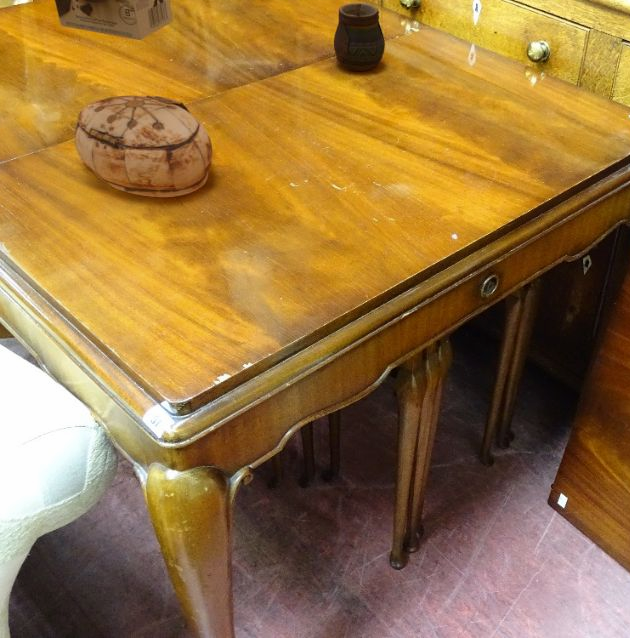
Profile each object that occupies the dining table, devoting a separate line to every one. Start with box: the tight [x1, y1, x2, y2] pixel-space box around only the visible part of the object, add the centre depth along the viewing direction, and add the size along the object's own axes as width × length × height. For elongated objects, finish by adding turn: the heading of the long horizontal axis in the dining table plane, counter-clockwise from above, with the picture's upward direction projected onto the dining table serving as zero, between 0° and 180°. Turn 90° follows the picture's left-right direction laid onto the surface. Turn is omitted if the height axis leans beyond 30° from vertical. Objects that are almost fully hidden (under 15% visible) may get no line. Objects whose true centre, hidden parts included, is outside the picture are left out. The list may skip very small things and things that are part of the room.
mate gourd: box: [333, 2, 386, 72], centre depth 108 cm, size 7×8×10 cm
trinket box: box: [74, 95, 213, 198], centre depth 83 cm, size 13×15×8 cm
